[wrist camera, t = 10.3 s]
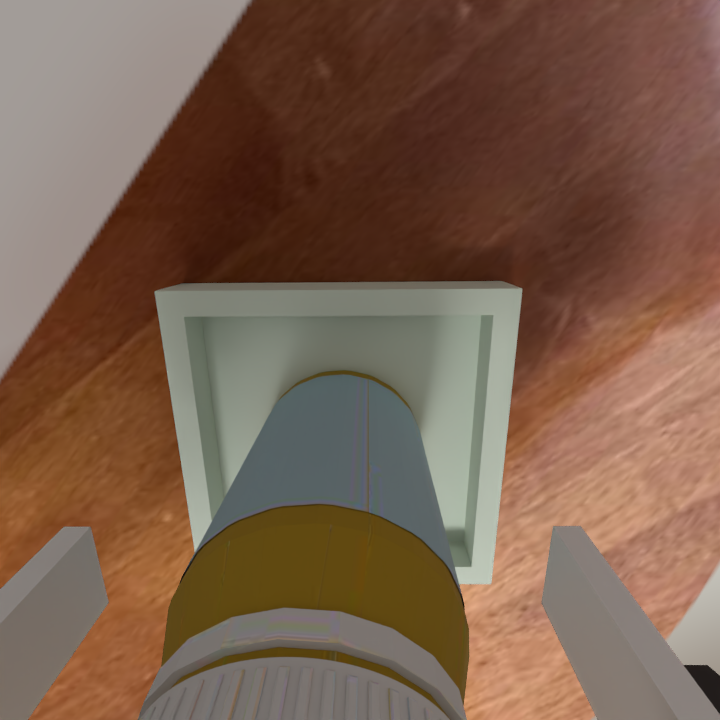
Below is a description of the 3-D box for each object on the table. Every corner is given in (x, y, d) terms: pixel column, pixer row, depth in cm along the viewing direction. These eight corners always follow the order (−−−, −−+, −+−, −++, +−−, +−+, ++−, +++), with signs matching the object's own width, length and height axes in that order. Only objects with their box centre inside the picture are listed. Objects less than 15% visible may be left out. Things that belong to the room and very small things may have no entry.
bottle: (282, 350, 18) (-33, 790, 4) (435, 384, 19) (663, 902, 4) (258, 483, 20) (-5, 1090, 6) (397, 512, 21) (463, 1152, 6)
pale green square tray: (217, 544, 22) (199, 582, 20) (182, 283, 18) (154, 291, 16) (477, 546, 22) (491, 584, 20) (501, 281, 18) (522, 288, 16)
